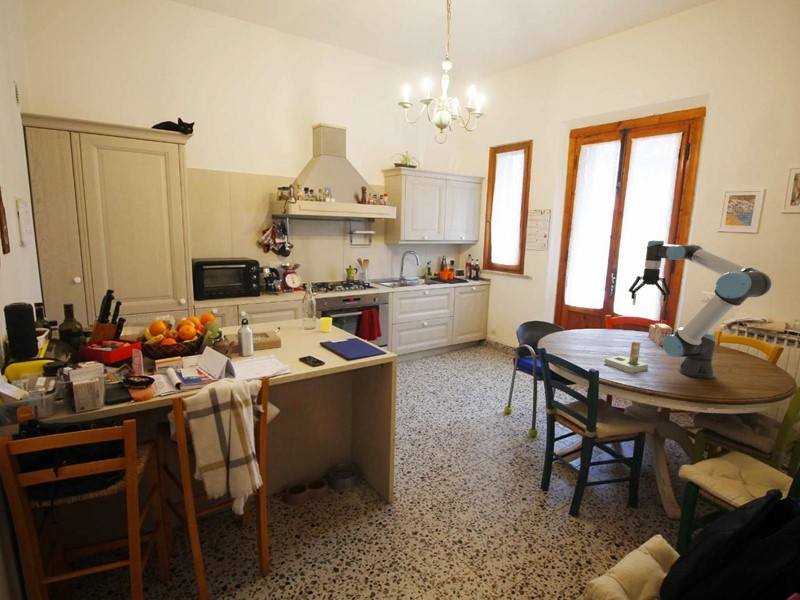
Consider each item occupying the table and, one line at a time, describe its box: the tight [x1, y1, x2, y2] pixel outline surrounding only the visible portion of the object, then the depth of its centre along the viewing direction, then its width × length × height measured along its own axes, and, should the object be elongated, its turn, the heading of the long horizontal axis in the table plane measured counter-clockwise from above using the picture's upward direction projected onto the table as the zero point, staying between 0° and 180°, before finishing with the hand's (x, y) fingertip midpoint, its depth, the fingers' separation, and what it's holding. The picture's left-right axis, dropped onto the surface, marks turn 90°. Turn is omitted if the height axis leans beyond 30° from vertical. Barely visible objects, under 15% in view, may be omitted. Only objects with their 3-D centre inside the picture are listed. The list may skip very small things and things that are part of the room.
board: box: [604, 355, 649, 374], centre depth 228 cm, size 16×14×3 cm
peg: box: [629, 341, 641, 365], centre depth 224 cm, size 4×4×15 cm
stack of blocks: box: [648, 323, 673, 346], centre depth 281 cm, size 21×6×12 cm, turn 167°
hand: (647, 305), depth 233 cm, fingers open, 13 cm apart
